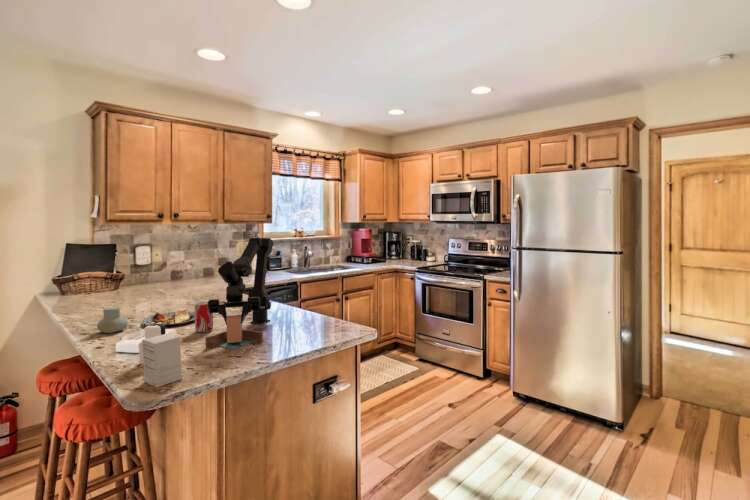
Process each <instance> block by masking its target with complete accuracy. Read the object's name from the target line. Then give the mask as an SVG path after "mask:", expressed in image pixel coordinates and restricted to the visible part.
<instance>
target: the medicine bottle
mask: <svg viewBox="0 0 750 500" xmlns="http://www.w3.org/2000/svg"><path fill="white" fill-rule="evenodd" d="M143 329H144V339H147V338H151V337H155V336H159V335H163V334H166V326H165V325H163V324H151V325H145V327H144V328H143ZM138 345H139V346H138V347H139V363H140V365H144V362H143V345H142V341H141V342H139V344H138Z"/></svg>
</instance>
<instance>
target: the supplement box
mask: <svg viewBox="0 0 750 500" xmlns="http://www.w3.org/2000/svg"><path fill="white" fill-rule="evenodd" d="M141 340H142V341H141V342H142V345H143V362H144V364H143V376H144V377H143V378H144V380H143V381H144V382H145V383H146V384H149V385H151V386H153V387H155V388H160V387H164V386H165V385H169V384H172V383H174V382H176V381H180V380H182V378H183V377H182V376H183V375H182V359H181V355H182V354H181V338H180V336H176V335H173V334H169V333H165V334H163V335H159V336H155V337H151V338H147V339H145V338H143V339H141Z"/></svg>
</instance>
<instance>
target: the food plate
mask: <svg viewBox="0 0 750 500" xmlns="http://www.w3.org/2000/svg"><path fill="white" fill-rule="evenodd" d="M171 321H173V322H174V323H171ZM191 321H195V311H194V312H193V311H189V310H188V309H184V310H181V311H170V312H163V313H159V312H157V313H154V314H153V315H150V316H147V317H145V318H143V320H142V322H141V325H143V324H145V325H144V326H148V325H151V323H152V322H155V323H158V322H162V323H161V324H163V325H165V327H169V326H170V327H171V326H178V325H187V324H188V323H189V322H191ZM148 323H149V324H148ZM170 323H171V324H170Z"/></svg>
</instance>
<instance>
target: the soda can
mask: <svg viewBox="0 0 750 500" xmlns="http://www.w3.org/2000/svg"><path fill="white" fill-rule="evenodd" d="M194 312H195V320H194V326H195V331H196V332H198V333H208V332H211V331H212V330H213V329H214V313H209V309H208V301H199V302H196V303H195V306H194Z"/></svg>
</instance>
